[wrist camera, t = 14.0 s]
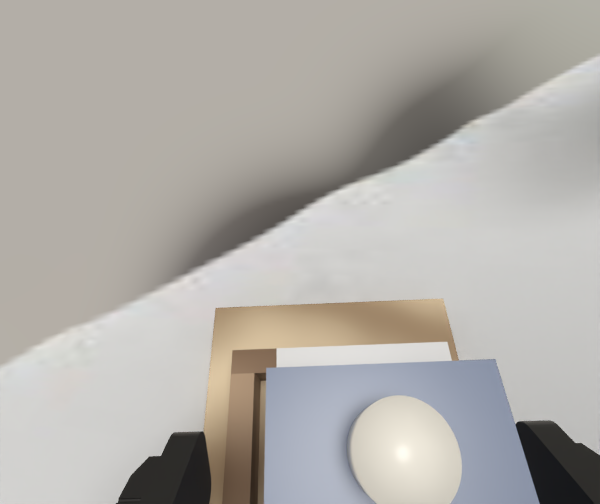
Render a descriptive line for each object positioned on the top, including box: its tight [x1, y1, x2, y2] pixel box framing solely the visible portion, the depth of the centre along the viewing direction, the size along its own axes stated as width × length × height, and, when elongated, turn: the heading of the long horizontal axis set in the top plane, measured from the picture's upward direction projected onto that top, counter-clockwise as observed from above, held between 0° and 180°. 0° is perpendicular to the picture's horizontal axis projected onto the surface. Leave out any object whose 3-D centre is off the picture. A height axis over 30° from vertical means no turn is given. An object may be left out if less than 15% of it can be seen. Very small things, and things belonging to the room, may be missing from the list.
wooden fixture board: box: [204, 299, 459, 504], centre depth 14 cm, size 16×12×3 cm
